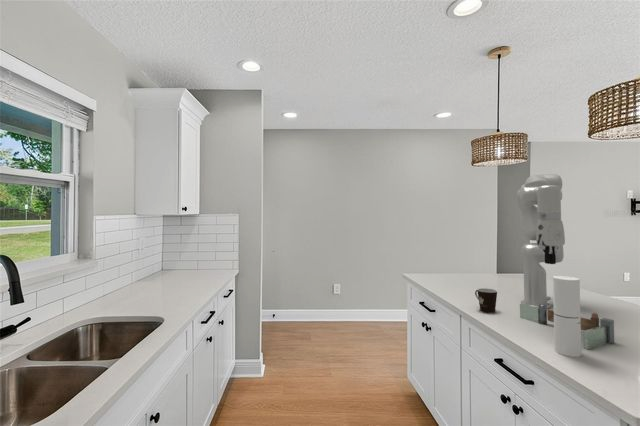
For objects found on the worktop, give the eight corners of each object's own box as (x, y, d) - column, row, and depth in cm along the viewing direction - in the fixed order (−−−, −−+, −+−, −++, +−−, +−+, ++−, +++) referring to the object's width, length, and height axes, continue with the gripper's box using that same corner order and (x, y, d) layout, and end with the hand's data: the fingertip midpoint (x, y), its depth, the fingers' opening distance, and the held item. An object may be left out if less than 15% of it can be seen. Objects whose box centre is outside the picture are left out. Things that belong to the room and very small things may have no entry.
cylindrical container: (549, 348, 112) (547, 276, 112) (568, 347, 113) (566, 275, 113) (566, 357, 105) (565, 280, 105) (587, 356, 106) (585, 279, 106)
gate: (547, 324, 135) (546, 302, 135) (550, 323, 135) (549, 302, 136) (596, 338, 119) (596, 314, 119) (599, 337, 120) (599, 313, 120)
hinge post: (522, 316, 146) (522, 299, 146) (548, 324, 136) (548, 305, 136) (518, 317, 145) (518, 299, 145) (544, 325, 135) (544, 305, 135)
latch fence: (604, 339, 119) (604, 318, 119) (614, 342, 116) (613, 320, 116) (581, 347, 112) (581, 324, 112) (591, 350, 110) (590, 326, 110)
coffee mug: (500, 314, 151) (499, 292, 151) (480, 313, 152) (480, 292, 152) (492, 307, 162) (491, 287, 162) (473, 306, 164) (473, 286, 164)
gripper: (545, 217, 121) (546, 266, 121) (572, 216, 126) (573, 263, 126) (526, 217, 128) (527, 263, 128) (552, 216, 133) (553, 261, 133)
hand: (550, 263), depth 127 cm, fingers closed
